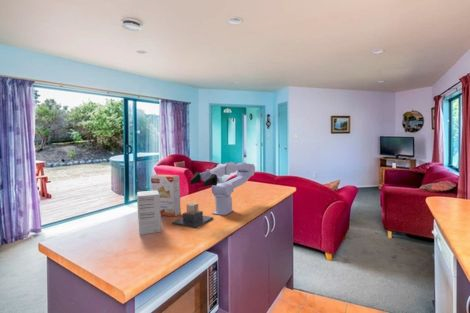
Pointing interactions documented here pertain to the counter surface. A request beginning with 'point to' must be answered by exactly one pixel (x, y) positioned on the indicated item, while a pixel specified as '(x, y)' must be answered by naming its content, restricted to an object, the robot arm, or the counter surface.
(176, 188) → the cracker box
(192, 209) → the birch post
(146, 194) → the supplement box
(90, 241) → the counter surface
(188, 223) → the stand
